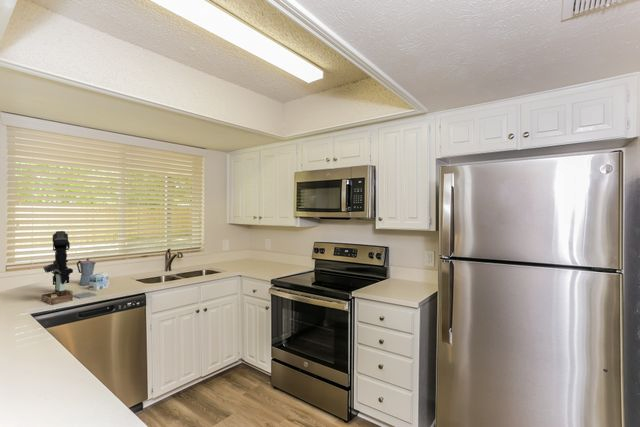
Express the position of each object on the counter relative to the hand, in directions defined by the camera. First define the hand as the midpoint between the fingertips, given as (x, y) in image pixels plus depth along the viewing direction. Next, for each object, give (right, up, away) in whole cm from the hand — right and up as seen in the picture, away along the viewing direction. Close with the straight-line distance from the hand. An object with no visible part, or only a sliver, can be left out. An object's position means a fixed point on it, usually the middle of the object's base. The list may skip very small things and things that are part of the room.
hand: (60, 283), depth 206 cm
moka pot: (-16, -10, +44) cm, 48 cm away
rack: (-1, -11, -2) cm, 11 cm away
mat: (+7, -11, +11) cm, 17 cm away
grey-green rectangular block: (0, -4, 0) cm, 4 cm away
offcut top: (-2, -9, -3) cm, 10 cm away
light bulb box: (+4, -11, +31) cm, 33 cm away
